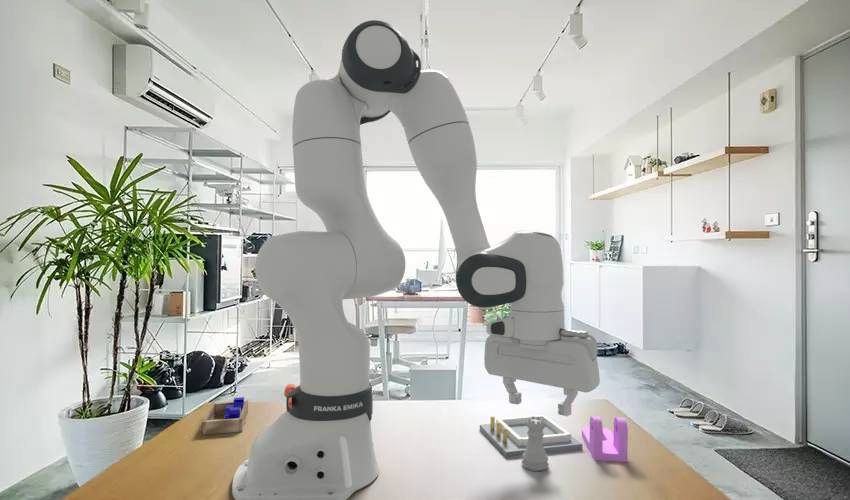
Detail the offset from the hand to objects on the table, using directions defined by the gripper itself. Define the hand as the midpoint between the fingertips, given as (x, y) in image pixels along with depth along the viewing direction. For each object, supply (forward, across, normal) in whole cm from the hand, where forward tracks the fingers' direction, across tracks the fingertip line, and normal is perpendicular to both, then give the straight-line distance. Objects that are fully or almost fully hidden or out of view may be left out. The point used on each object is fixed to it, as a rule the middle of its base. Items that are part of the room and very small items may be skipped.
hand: (539, 408), depth 82 cm
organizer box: (+7, +56, +29) cm, 63 cm away
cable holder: (+8, +55, +28) cm, 62 cm away
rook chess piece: (+10, +1, 0) cm, 10 cm away
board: (+9, +8, -8) cm, 15 cm away
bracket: (+10, -4, -16) cm, 19 cm away
